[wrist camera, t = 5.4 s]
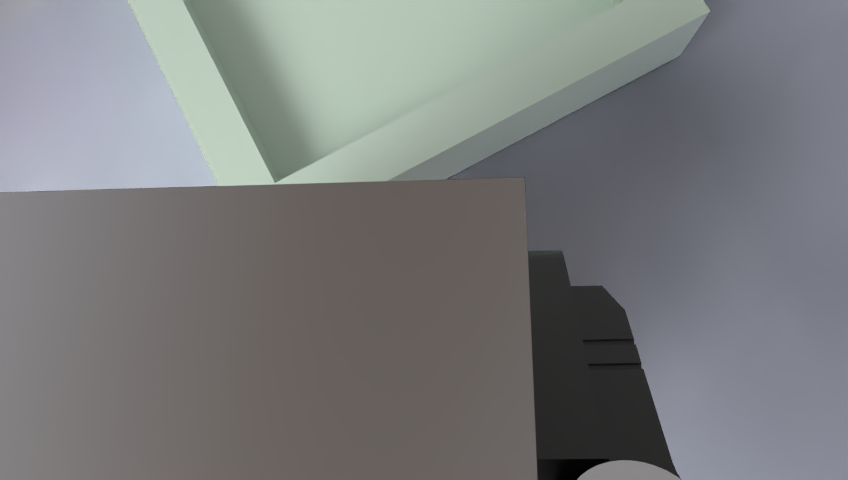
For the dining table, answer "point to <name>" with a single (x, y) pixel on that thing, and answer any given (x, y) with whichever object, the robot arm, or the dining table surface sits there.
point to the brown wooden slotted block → (267, 332)
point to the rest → (394, 77)
